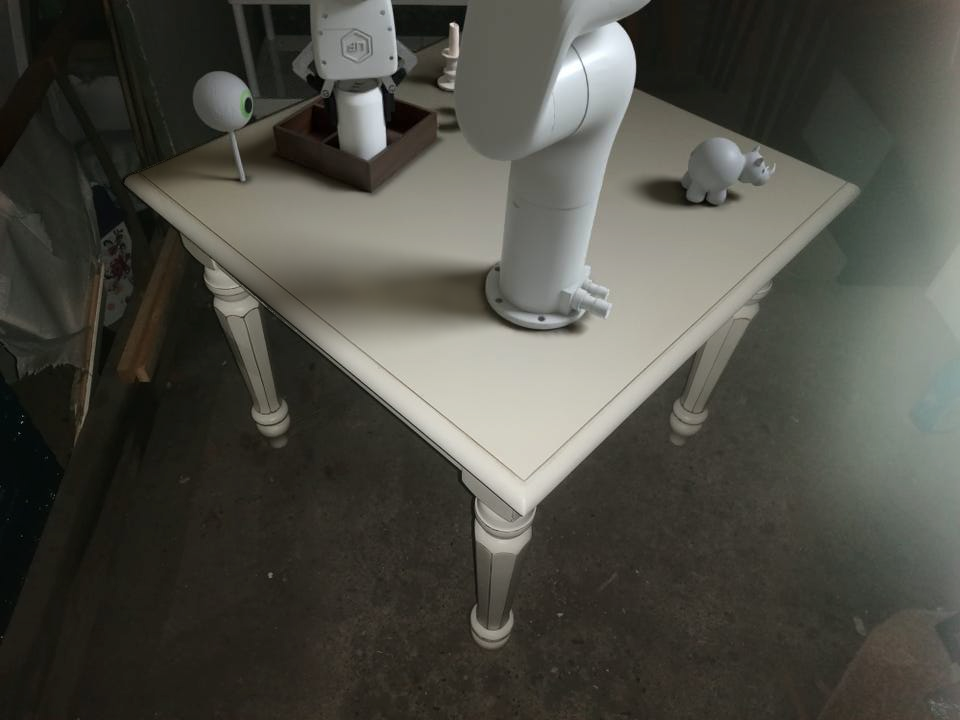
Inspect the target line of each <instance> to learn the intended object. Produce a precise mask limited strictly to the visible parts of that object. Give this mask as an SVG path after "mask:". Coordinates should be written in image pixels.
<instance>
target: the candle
mask: <svg viewBox="0 0 960 720" xmlns="http://www.w3.org/2000/svg"><path fill="white" fill-rule="evenodd" d="M459 26H460V25H459V24H457V23H456V21H455V20H454V21H453V22H450V23H449V29H448V30H449V33H448V47H446V48H444V49H442V50H441V55H442V56H443V57H445V58H446V66H445V67H444V68H443V74H444V75H442V76H440V77H438V78H437V86H438V87H439V88H440V89H441V90H443V91H447V92H454V82H455V73H456V66H457V61H458V55H459V49H460V27H459Z"/></svg>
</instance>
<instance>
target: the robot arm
mask: <svg viewBox="0 0 960 720" xmlns="http://www.w3.org/2000/svg"><path fill="white" fill-rule="evenodd" d="M651 1H652V0H468V1H467V6H466V11H465V12H466V13H465V16H464V17H465V18H464V23H463V28H462V33H461V39H460V43H459V55H458V61H457V66H456V73H455V82H454V91H453V104H454V110H455V116H456V117H455V118H456V121H457V124H458V127H459V129H460V133H461V134H462V136H463V137H464V139H465V141H466V142H467V144H468V145H469V146H470V148H472V150H473V151H474V152H476V153H477V154H478V155H480V156H481V157H483V158H485V159H488V160H491V161H494V162H502V163H503V162H510V165H509V174H508V175H509V176H508V181H507V193H506V203H505V214H504V224H503V235H502V245H501V255H500V260H499V261H498V262H497V263H496V264H494V265H493V266H492V268H491V269H489V272H488V274H487V275H486V278H485V279H486V280H485V296H486V299H487V302H488V303H489V305H490V307H491V308H492V309H493V310H494V311H495V312H496V313H497V314H498V315H499V316H501V317H502V318H503V319H505V320H506V321H508V322H511V323H512V324H515V325H517V326H520V327H524V328H528V329H533V330H552V329H553V330H554V329H559V328H563V327H566V326H568V325H570V324H572V323H574V322H576V321H577V320H579V319H580V318H581V317H582V316H583V315H584V314H585V313H586V311H587V312H588V313H590V314H591V315H594V316H596V317H598V318H601V319H603V320H606V319H607V318H608V317H609V315H610V312H611V310H612V307H613V303H611V302H609V301H607V299H608V297H609V294H610V291H611V290H610V289H609V288H607V287H605V286H602V285H598V284H596V283H593V279H590V274H591V269H592V267H591V266H590V265H587V264H585V263H586V259H587V258H586V257H587V253H588V249H589V245H590V239H591V236H592V231H593V225H594V221H595V218H596V217H595V216H596V212H597V208H598V203H599V197H600V195H601V194H600V193H601V190H602V187H603V182H604V177H605V174H606V169H607V165H608V162H609V157H610V154H611V150H612V148H613V144H614V141H615V139H616V136H617V134H618V131H619V128H620V127H621V124H622V122H623V119H624V117H625V115H626V112H627V110H628V106H629V104H630V101H631V98H632V96H633V92H634V88H635V87H634V86H635V82H636V77H637V76H636V74H637V58H636V53H635V49H634V46H633V45H634V44H633V43H632V40H631V38H630V36H629V34H628V33H627V32H626V30H625V29H624V27H622V25H621V24H620V23H619V22H618V21H620V20H623V19H625V18H627V17H629V16H631V15H633V14H635V13H636V12H638V11H640V10H642V9H643V8H644V7H645V6H647V4H649V3H650V2H651ZM393 11H394V10H393V5H392V0H309V17H310V18H309V21H310V35H311V41H310V42H309V43H308V44H307V45H306V46H305V48H304V49H302V51H301V52H300V53H299V54H298V56H297V57H296V58H295V59H294V60H293V61H292V63H291V67H292V71H293V72H294V73H295V74H296V75H297V76H298V77H300V78H301V79H302V80H303V81H305V82H306V84H307V85H309V86H310V87H311V88H312V89H314V90H315V91H316V92H317V93H319V94H320V97H321V96H322V97H323V102H324V109H325V116H326V118H327V117H331V121H332V125H333V126H337V125H338V120H337V111H336V103H335V97H334V93H333V88H334V85H335V84H336V81H337V80H353V79H367V78H377V79H379V78H380V79H381V84H380V88H381V89H382V92H383V100H384V115H385V121H387V122H389V121H391V112H395V104H394V98H395V92H396V91H397V90H398V89H397V88H398V87H399V85H401V83H403V82H404V81H405V79H406V78H407V76H408V74H409V73H410V72H411V71H412V70H413V69H414V67H415V66H416V65H417V64H418V57H417V56H416V54H415V53H414V52H413V51H411V49H409V48H408V47H407V46H406V45H405V44H404V43H402V42H401V40H399V39H398V38H397V37H396V36H397V35H396V26H395V18H394V12H393ZM398 57H399V58H401V61H400V63H399V62H398ZM313 61H314V65H315V70H316V72H317V73H316V72H314V71H313V70H311V69H310V68H309V67H308V66H309V65H310V64H311V63H312V62H313ZM398 63H399V64H398Z"/></svg>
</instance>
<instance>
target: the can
mask: <svg viewBox="0 0 960 720" xmlns="http://www.w3.org/2000/svg"><path fill="white" fill-rule="evenodd" d="M335 87H336V88H335ZM335 87H334V88H335V91H334V97H335V103H336V111H337V120H338V125H337V128H338V136H339V144H340V150H342V151H344V152H347V153H349V154H352V155H355V156H357V157H360V158H362V159H365V160H367V161H369V160H370V159H371V158H373V157H374V156H375V155H377V154H378V153H379V152H381V151H382V150H383V149H385V148H386V147H387V145H386V129H385V115H384V100H383V92H382V89H381V85H380V80H379V78H367V79H353V80H337V81H335Z"/></svg>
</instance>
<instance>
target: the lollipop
mask: <svg viewBox="0 0 960 720" xmlns="http://www.w3.org/2000/svg"><path fill="white" fill-rule="evenodd" d="M192 103H193V106H194V110H195V112H196V114H197V116H198V117H199V119H200V120H201V121H202V122H203V123H204V124H205V125H207V126H208V127H210V128H211V129H212V130H213V129H214V130H216V131H219V132H225V133H226V132H227V133H228V136H229V141H230V145H231V149H232V152H233V157H234V161H235V164H236V169H237V172H238V177H239V181H240V182H245V181H246V177H245V173H244V167H243V164H242V160H241V156H240V152H239V148H238V144H237V139H236V136H235V133H234V131H238V130H239V129H242V128H243V127H244V126H246V124H247V123H248V122H249V121H250V119H251V118H252V115H253V112H254V100H253V96H252V93H251V90H250V89H249V87H248V86H247V85H246V83H245V82H244V81H243V80H242V79H241V78H239V76H237V75H235V74H233V73H231V72H228V71H224V70H223V71H222V70H217V71H216V70H215V71H211V72H208V73H205V74H204V75H203V76H202V77H200V78H199V79H198V80H197V82H196V83H195V86H194V88H193V93H192Z"/></svg>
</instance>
